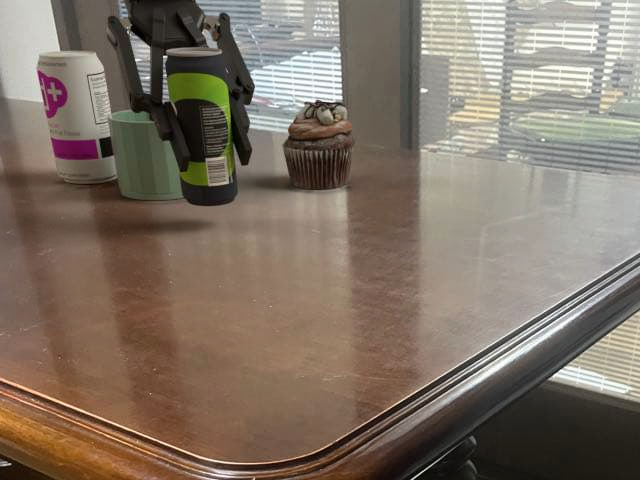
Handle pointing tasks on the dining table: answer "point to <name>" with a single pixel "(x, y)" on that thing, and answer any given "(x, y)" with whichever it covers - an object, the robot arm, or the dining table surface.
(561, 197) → the dining table surface
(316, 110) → the cupcake
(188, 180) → the beverage can
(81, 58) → the supplement can
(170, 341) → the dining table surface
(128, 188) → the green faceted cup
